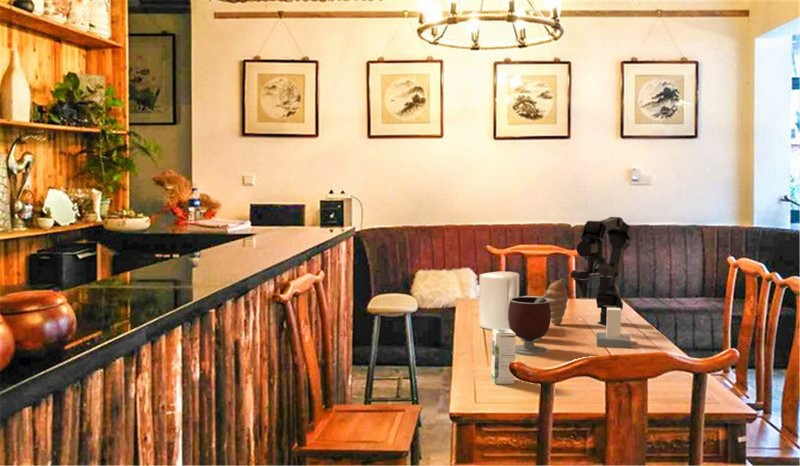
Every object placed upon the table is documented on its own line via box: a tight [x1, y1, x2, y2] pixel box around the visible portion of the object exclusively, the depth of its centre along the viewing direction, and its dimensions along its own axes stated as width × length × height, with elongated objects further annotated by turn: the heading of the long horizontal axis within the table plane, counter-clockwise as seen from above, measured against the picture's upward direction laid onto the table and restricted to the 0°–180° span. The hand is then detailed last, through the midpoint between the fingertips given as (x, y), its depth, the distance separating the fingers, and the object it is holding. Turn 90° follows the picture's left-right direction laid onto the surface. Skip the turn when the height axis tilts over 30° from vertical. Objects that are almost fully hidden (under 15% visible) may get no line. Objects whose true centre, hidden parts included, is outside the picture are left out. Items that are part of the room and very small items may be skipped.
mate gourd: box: [508, 294, 551, 357], centre depth 239 cm, size 16×14×20 cm
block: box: [605, 307, 622, 338], centre depth 251 cm, size 4×4×10 cm
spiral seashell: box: [544, 278, 569, 326], centre depth 282 cm, size 9×8×18 cm
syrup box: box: [490, 329, 517, 385], centre depth 205 cm, size 6×6×14 cm
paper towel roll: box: [478, 271, 520, 331], centre depth 274 cm, size 15×14×22 cm
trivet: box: [595, 331, 632, 349], centre depth 251 cm, size 11×11×3 cm
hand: (594, 296), depth 271 cm, fingers open, 9 cm apart
